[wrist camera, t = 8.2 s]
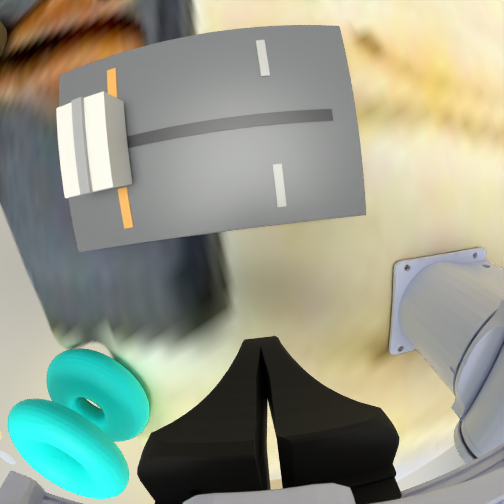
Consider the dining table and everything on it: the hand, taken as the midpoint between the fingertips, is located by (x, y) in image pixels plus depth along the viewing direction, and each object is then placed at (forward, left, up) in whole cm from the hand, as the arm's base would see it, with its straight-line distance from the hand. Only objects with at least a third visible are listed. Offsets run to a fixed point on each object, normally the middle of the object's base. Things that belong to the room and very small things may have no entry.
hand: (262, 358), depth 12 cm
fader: (+8, -10, -7) cm, 14 cm away
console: (+2, -10, -9) cm, 14 cm away
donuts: (+15, +9, -10) cm, 20 cm away
